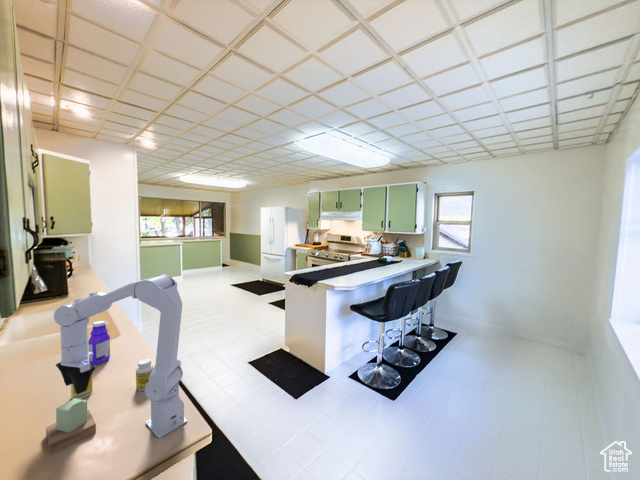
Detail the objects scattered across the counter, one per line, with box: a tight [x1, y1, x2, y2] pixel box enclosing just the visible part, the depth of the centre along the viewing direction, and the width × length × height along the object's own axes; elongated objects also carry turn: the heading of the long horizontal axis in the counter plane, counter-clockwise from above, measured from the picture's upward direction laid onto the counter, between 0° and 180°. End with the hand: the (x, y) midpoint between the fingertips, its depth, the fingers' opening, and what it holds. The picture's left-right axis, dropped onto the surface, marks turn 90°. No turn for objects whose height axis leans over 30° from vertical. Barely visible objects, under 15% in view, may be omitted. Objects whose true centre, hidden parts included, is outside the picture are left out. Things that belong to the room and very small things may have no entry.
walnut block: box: [45, 409, 97, 455], centre depth 72 cm, size 9×9×3 cm
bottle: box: [88, 320, 111, 366], centre depth 110 cm, size 7×6×17 cm
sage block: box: [55, 398, 88, 433], centre depth 72 cm, size 4×4×6 cm
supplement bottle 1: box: [70, 374, 93, 400], centre depth 88 cm, size 5×5×10 cm
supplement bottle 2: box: [135, 358, 154, 392], centre depth 93 cm, size 5×5×10 cm
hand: (76, 387), depth 76 cm, fingers open, 7 cm apart
